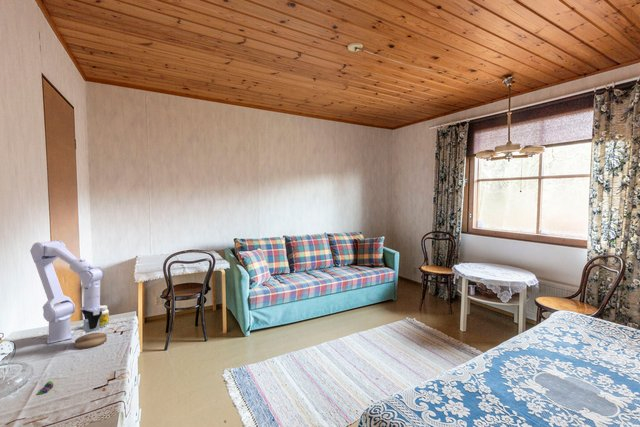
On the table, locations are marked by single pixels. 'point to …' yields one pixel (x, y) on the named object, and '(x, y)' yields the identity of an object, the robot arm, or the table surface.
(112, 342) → the table surface
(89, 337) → the walnut bowl
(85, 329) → the blue cube
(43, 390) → the green pink pointed oval
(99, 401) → the table surface
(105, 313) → the supplement bottle
